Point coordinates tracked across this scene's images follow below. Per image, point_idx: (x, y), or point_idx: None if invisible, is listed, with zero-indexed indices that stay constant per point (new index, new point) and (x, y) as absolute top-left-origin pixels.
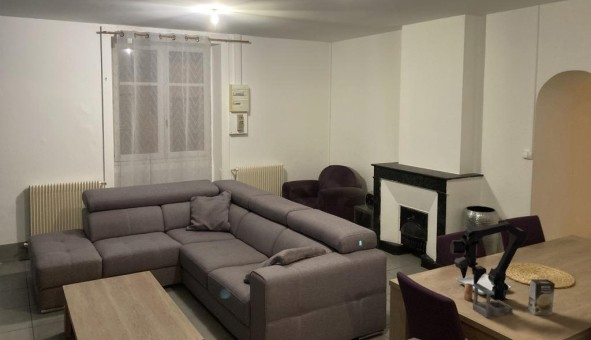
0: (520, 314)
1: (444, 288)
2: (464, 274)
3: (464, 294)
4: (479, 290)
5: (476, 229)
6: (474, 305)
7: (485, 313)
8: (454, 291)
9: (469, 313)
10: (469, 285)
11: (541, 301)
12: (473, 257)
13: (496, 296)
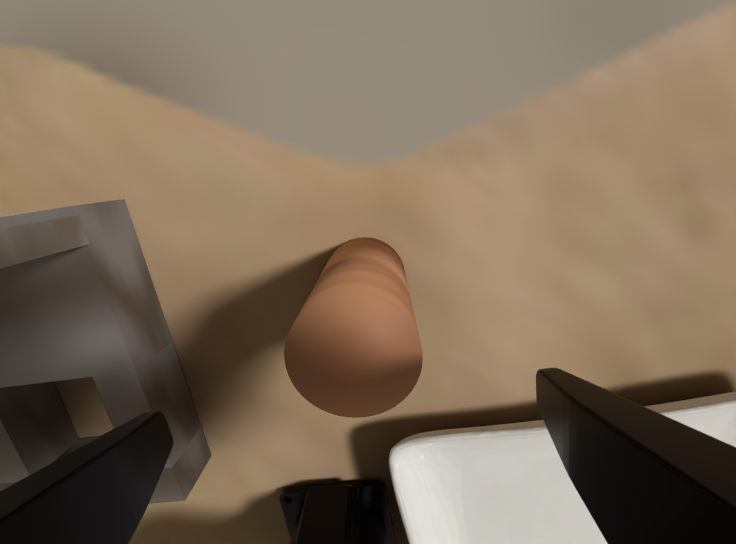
0: None
1: (716, 160)
2: (590, 469)
3: (371, 250)
4: (511, 468)
5: None
6: (56, 209)
7: None
8: (592, 236)
9: (25, 113)
10: (325, 356)
11: None
12: None
13: (299, 521)
